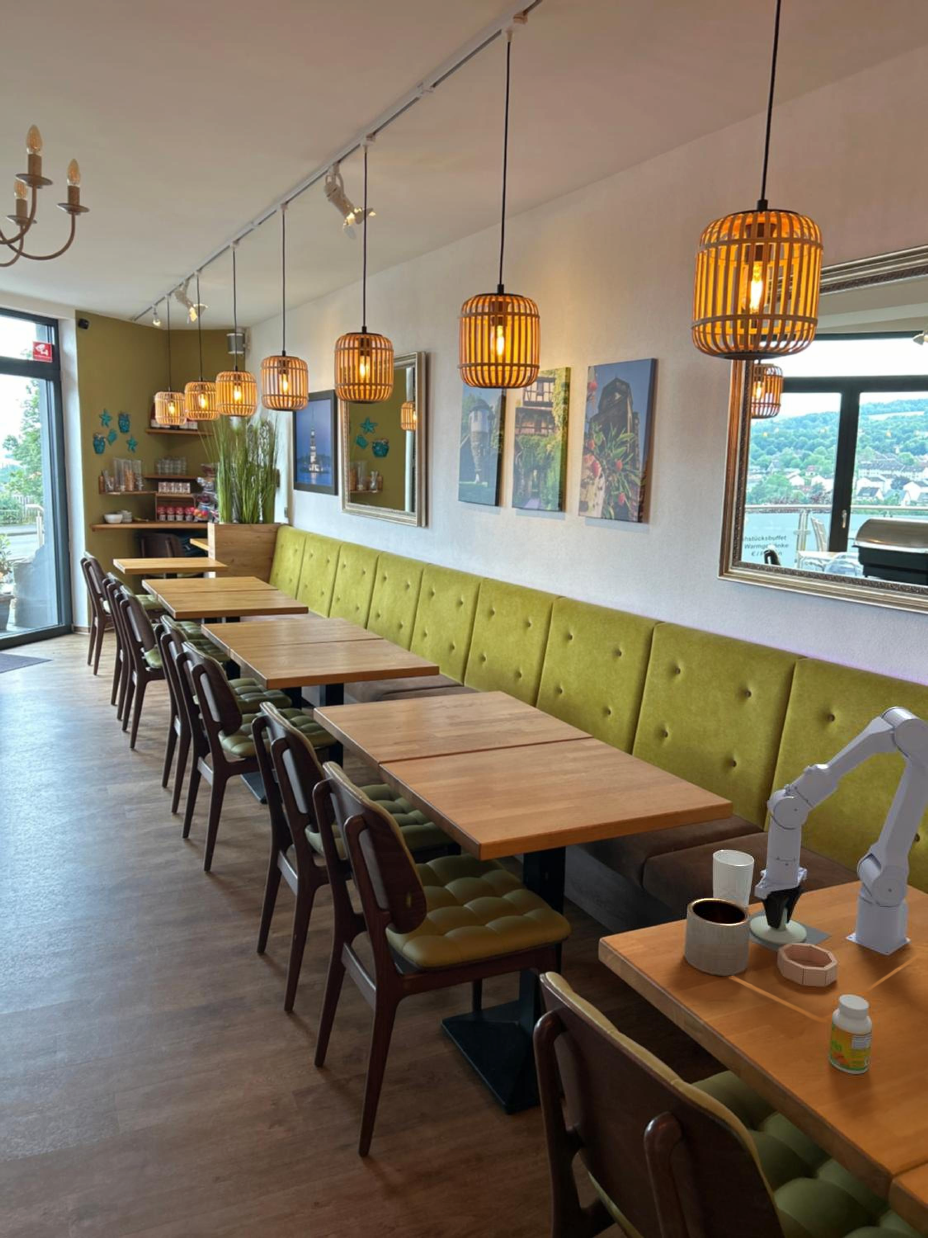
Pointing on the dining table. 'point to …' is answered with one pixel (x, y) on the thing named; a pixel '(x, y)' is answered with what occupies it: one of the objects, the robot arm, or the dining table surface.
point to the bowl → (807, 964)
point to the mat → (811, 938)
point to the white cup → (732, 876)
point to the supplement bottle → (851, 1035)
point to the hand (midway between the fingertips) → (778, 924)
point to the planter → (717, 936)
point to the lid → (778, 930)
